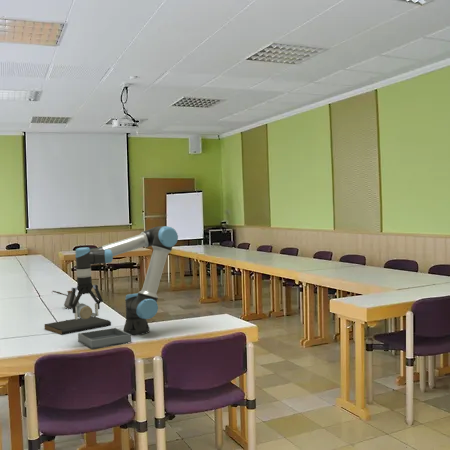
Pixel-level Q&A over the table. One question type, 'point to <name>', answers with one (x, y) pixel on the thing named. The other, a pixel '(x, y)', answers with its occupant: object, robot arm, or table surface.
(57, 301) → the table surface
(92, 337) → the bin
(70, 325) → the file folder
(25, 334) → the table surface
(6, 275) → the table surface
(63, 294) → the coffee pot
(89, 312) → the ceramic mug
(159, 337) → the table surface
